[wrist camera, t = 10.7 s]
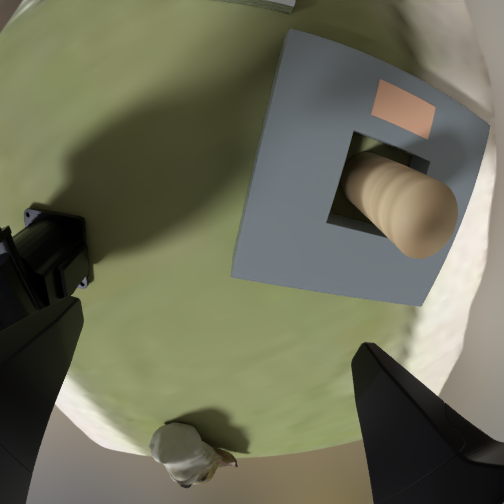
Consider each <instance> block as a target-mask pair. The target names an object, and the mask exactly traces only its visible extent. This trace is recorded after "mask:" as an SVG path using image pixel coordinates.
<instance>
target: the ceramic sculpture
mask: <svg viewBox="0 0 504 504" xmlns="http://www.w3.org/2000/svg"><path fill="white" fill-rule="evenodd" d="M149 448H150V450H151V454H152V456H153V457H154V459H155V460H156V461H157V462H159V463H161V464H164V466H165V467H166V469H167V471H168V472H169V473H170V476H171V478H172V479H173V480H174V481H175V482H176V483H178V484H179V485H180V486H181V487H184V488H189V487H190V486H191V485H192V484H203V483H206V482H208V481H209V480H210V479H211V478H212V477H213V475H214V474H215V471H216V469H217V468H218V466H219V467H225V466H233V467H237V461H236V459H235V458H234V456H233V455H232V454H230V453H229V452H227V451H225V450H222V449H217V448H212V447H211V446H209V445H208V444H206V443H205V442H203V441H202V440H201V437H200V435H199V433H198V432H197V430H196V429H195V428H194V427H193V426H191V425H187V424H182V423H178V422H173V423H171V424H168V425H164V426H162V427H160V428H159V429H158V430H157V431H156V432H155V433H154V434H153V437H152V439H151V442H150V445H149Z"/></svg>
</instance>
